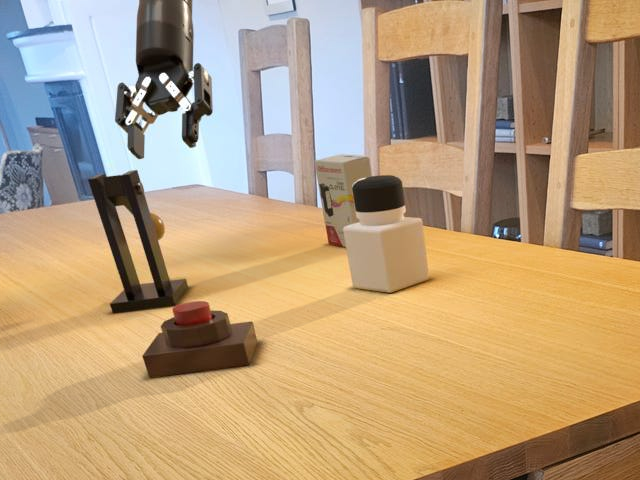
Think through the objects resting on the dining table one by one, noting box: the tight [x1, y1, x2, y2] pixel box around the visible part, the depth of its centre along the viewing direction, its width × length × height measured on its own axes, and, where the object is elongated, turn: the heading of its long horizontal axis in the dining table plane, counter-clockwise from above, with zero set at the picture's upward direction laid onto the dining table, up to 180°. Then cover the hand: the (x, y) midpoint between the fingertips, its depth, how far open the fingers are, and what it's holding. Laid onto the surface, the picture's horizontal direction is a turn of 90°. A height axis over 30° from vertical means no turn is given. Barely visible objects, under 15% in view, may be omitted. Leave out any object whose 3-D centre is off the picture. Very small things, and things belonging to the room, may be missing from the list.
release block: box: [141, 309, 258, 379], centre depth 85 cm, size 10×8×4 cm
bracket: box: [87, 169, 189, 314], centre depth 106 cm, size 10×8×15 cm
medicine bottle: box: [343, 174, 430, 294], centre depth 102 cm, size 7×7×12 cm
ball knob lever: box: [103, 174, 166, 241], centre depth 109 cm, size 15×4×4 cm, turn 6°
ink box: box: [313, 153, 373, 248], centre depth 126 cm, size 9×5×12 cm, turn 40°
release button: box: [171, 300, 213, 326], centre depth 83 cm, size 4×4×2 cm
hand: (162, 149), depth 115 cm, fingers open, 8 cm apart
